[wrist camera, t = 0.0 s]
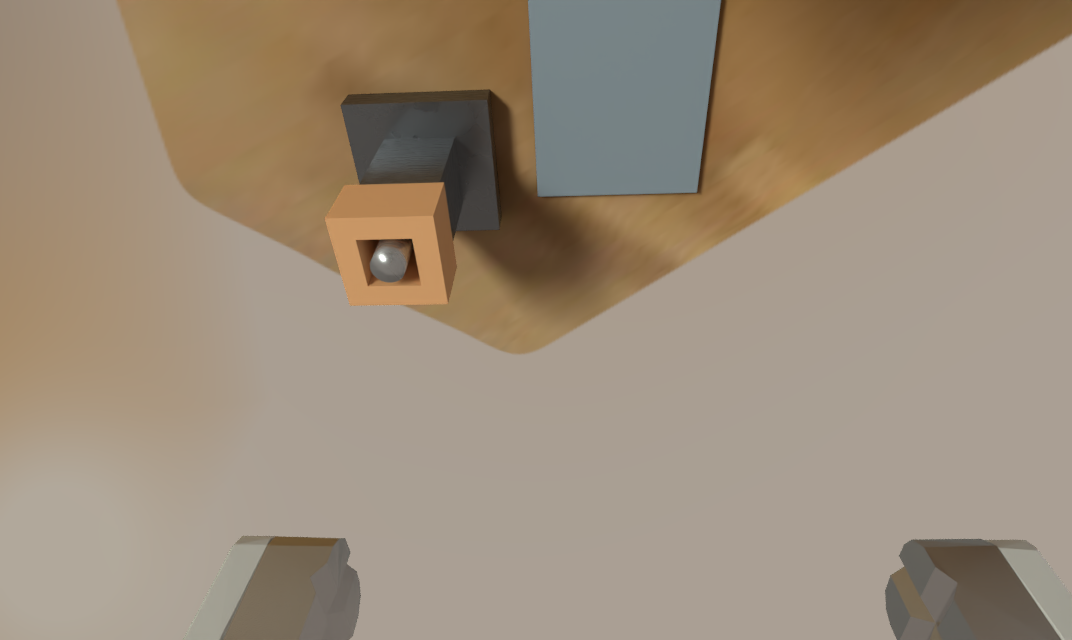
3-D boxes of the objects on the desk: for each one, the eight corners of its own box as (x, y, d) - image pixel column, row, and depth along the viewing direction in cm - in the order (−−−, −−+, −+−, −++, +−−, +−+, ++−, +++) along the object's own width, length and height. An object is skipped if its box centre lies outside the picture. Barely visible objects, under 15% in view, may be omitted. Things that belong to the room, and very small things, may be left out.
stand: (348, 94, 44) (274, 190, 33) (489, 89, 44) (464, 185, 32) (377, 219, 50) (323, 336, 39) (501, 216, 50) (483, 334, 39)
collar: (344, 185, 37) (324, 218, 34) (444, 182, 37) (433, 215, 34) (366, 268, 41) (350, 305, 38) (456, 266, 41) (448, 304, 38)
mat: (524, -83, 37) (524, -82, 37) (730, -93, 37) (732, -92, 36) (538, 192, 48) (537, 196, 48) (695, 188, 48) (696, 192, 47)
